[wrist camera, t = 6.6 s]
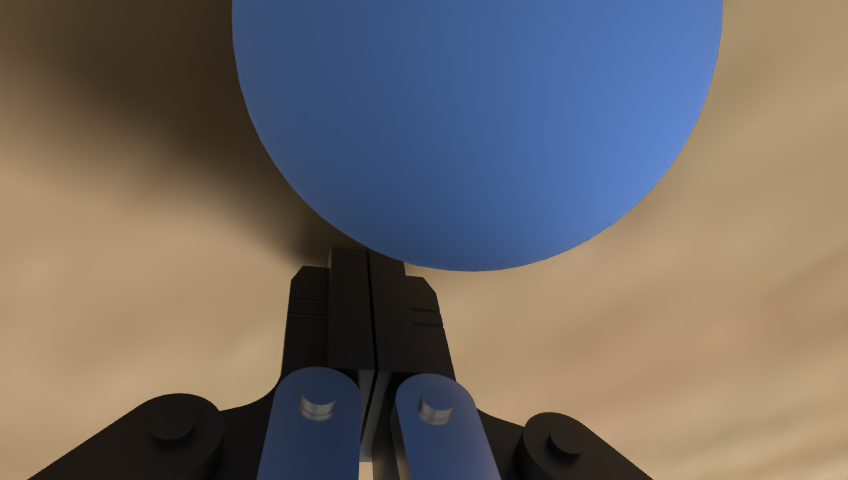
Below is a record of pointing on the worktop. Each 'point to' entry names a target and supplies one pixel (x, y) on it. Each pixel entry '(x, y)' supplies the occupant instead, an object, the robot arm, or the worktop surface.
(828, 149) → the worktop surface
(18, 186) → the worktop surface
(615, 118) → the ball
